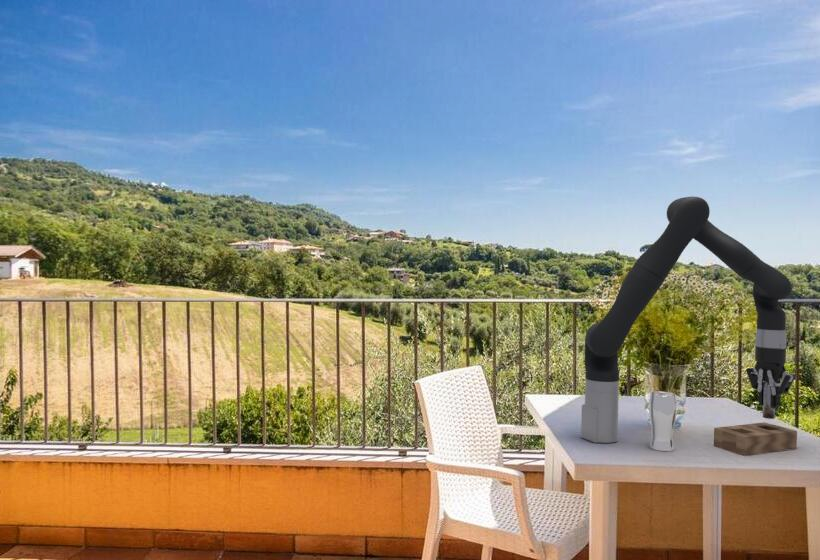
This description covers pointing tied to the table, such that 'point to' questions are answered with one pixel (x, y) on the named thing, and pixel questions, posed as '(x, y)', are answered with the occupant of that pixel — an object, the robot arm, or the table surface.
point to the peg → (767, 401)
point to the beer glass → (662, 420)
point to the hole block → (755, 438)
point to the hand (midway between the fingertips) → (769, 406)
